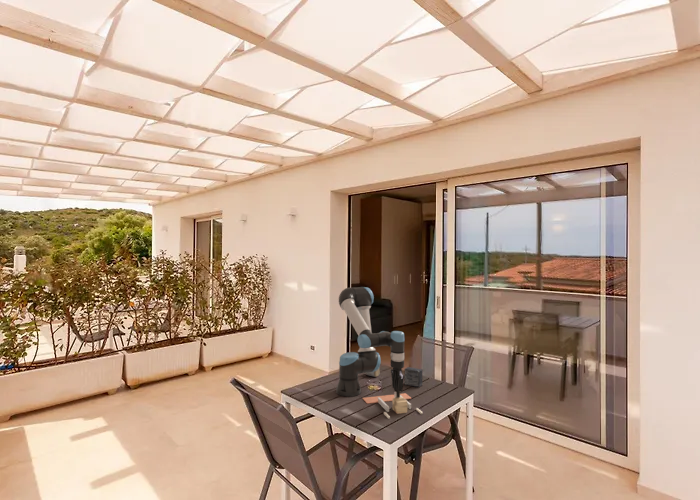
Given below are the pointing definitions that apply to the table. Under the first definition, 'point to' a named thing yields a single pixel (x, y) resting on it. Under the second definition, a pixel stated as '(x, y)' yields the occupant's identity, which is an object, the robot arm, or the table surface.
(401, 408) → the maple block
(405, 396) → the mat
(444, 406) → the table surface
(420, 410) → the strips
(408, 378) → the small box
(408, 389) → the table surface
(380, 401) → the guide rails
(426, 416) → the table surface
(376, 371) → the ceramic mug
